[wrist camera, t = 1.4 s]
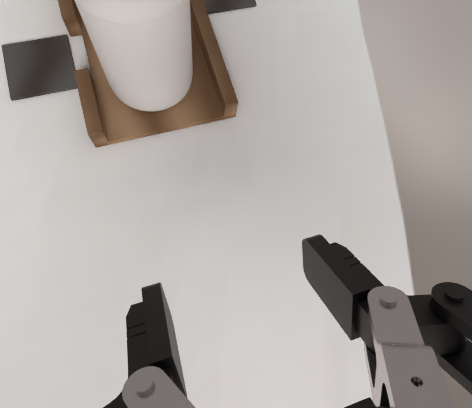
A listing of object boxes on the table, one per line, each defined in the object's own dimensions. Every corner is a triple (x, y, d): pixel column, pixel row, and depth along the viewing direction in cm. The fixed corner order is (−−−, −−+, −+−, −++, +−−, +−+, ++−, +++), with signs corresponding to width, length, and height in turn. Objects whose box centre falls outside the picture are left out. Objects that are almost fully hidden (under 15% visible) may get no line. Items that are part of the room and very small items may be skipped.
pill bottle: (182, 123, 33) (163, -19, 19) (98, 103, 33) (15, -54, 19) (203, 54, 36) (200, -118, 21) (124, 35, 36) (69, -150, 21)
